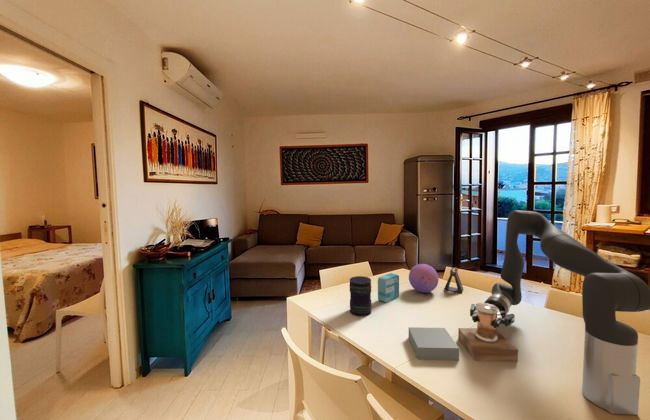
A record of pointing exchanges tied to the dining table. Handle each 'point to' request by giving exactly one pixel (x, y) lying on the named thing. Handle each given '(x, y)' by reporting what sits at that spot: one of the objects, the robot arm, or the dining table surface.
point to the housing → (486, 322)
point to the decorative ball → (423, 278)
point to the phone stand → (458, 282)
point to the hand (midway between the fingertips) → (484, 322)
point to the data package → (388, 287)
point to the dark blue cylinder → (360, 296)
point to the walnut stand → (487, 347)
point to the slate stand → (433, 344)
